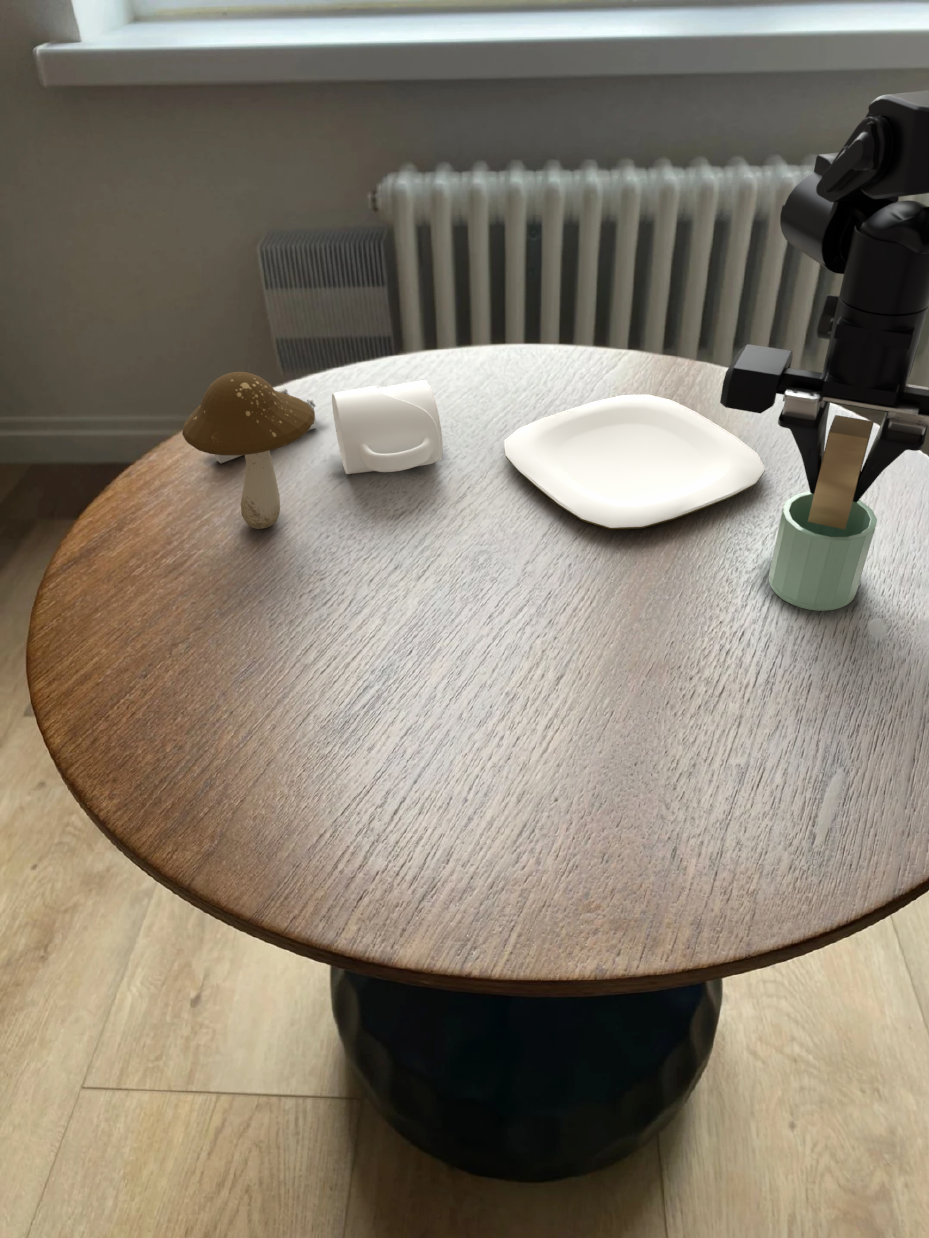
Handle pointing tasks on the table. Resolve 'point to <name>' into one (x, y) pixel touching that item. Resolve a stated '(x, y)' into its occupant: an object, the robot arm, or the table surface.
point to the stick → (840, 471)
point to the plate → (632, 461)
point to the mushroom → (249, 435)
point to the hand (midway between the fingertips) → (834, 495)
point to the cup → (819, 556)
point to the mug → (387, 427)
